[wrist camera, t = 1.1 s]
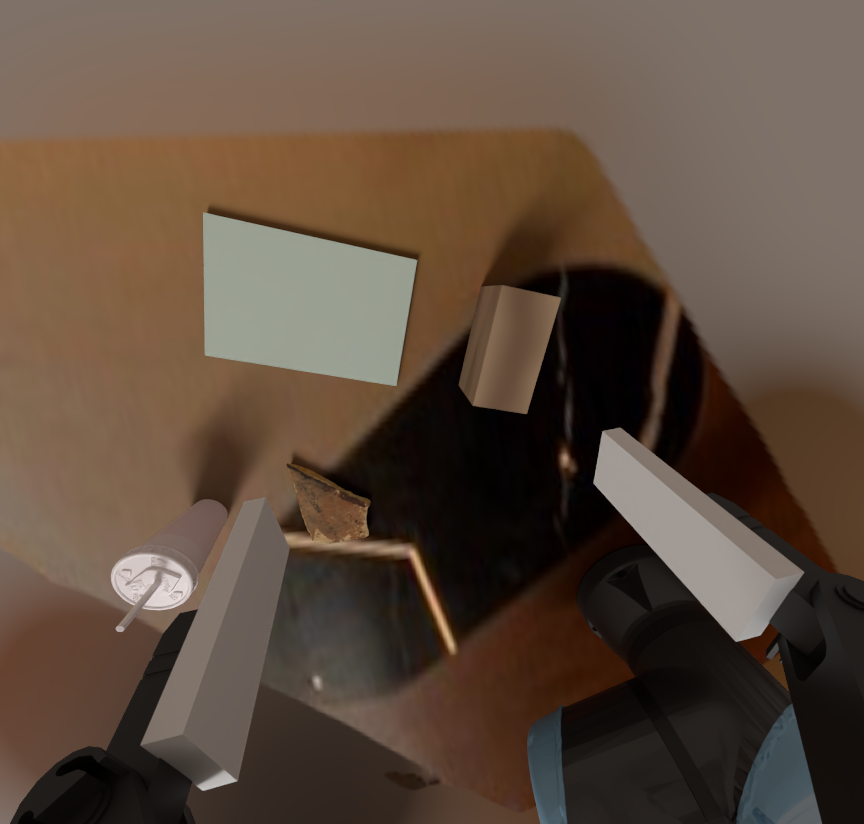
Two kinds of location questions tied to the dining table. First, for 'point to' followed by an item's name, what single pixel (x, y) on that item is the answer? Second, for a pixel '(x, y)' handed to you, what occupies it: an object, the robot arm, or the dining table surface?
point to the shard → (328, 507)
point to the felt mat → (303, 301)
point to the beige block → (507, 347)
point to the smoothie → (169, 561)
